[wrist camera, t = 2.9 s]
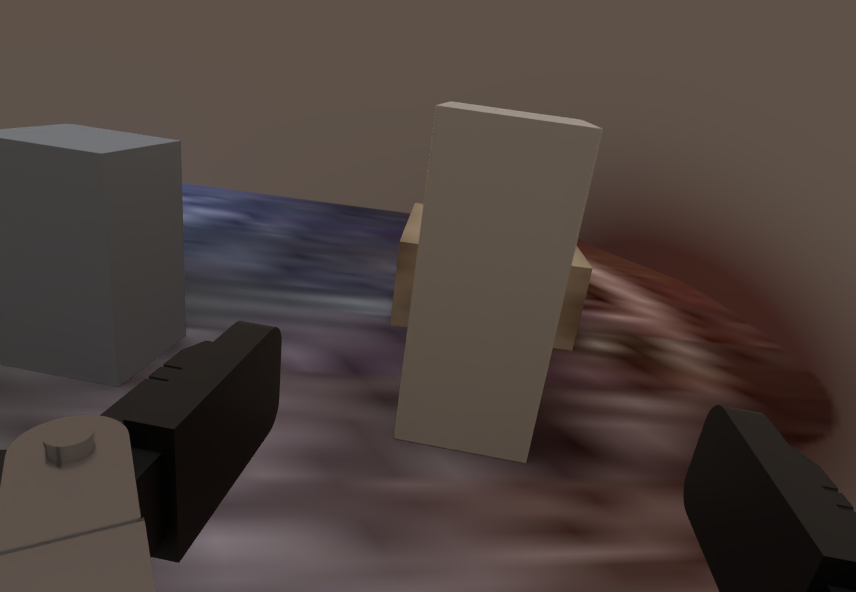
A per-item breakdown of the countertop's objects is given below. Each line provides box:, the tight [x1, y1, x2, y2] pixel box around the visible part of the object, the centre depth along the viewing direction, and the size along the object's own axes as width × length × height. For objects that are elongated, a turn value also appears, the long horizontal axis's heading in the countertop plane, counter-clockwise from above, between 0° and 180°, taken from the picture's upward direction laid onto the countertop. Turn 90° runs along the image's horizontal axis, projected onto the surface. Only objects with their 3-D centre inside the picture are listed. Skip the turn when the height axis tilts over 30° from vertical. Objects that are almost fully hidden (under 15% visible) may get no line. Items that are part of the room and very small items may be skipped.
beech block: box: [390, 203, 592, 350], centre depth 35 cm, size 10×10×5 cm
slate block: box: [0, 124, 186, 387], centre depth 23 cm, size 5×5×9 cm
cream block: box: [394, 102, 603, 463], centre depth 22 cm, size 5×5×12 cm
